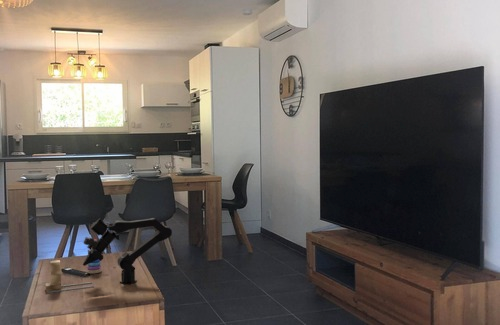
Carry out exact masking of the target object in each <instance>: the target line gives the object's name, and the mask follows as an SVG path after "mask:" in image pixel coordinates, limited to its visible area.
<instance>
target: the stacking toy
mask: <svg viewBox="0 0 500 325" xmlns="http://www.w3.org/2000/svg"><path fill="white" fill-rule="evenodd" d="M93 239H94V240H97V238H93ZM88 250H90V249H89V248H88ZM101 262H102V261H100V260H99V259H98V260H96V261H94V262H91V263H89V264H87V265H86V268H87V269H86V272H87V273H88V274H99V273H101V272H102V265H101V264H102V263H101Z"/></svg>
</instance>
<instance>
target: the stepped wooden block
mask: <svg viewBox="0 0 500 325" xmlns="http://www.w3.org/2000/svg"><path fill="white" fill-rule="evenodd" d="M49 264H50V265H49V266H50V267H49V268H50V270H49V271H50V282H46V283H45V293H47V292H48V291H56V290H62V287H61V286H62V271H61V269H62V268H61V266H62V265H61V260H60V259H58V260H50V261H49Z"/></svg>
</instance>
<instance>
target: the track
mask: <svg viewBox="0 0 500 325" xmlns="http://www.w3.org/2000/svg"><path fill="white" fill-rule="evenodd" d="M90 284H93V283H92V281H89V282H83V283H72V284H65V285H61V288H64V289H61V290H56V291H48V292H46V294H51V293H57V292H65V291H67V292H68V291H74V290H81V289H82V290H83V289H89V288H94V285H90ZM83 285H88V286H83ZM75 286H80V287H75ZM66 287H71V288H66ZM73 287H74V288H73ZM65 288H66V289H65Z"/></svg>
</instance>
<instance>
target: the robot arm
mask: <svg viewBox="0 0 500 325" xmlns="http://www.w3.org/2000/svg"><path fill="white" fill-rule="evenodd" d="M148 227H153V228H154V229H155V230H156V231H155V232H154V234H153V235H152V236H151V237H150V238H148V239H147V240H145V241H144V242H142V243H141V244H140V245H138V247H136V248H134V250H132V251H130V252H128V251H124V253H122V254H120V255H119V257H118V259H117V265H118V266H119V268H121V269H122V270H121V276H120V278H121V281H119V283H120V284H125V285H131V284H133V283H137V282H138V280H137V279H136V267H135V266H134V265H133V264H134V263H135V262H136V260H137V259H138V258H140V256H142V255H144V254H145V253H146V252H148V250H150V249H151V248H153V247H154V246H155V245H157V244H159V243H160V242H162V241H165V240H168V238H170V237H171V236H172V234H173V230H172V228H170V227H169V226H167V225H164V224H162V223H161V222H160V221H158V219H156V218H154V217H151V218H144V219H138V220H137V219H136V220H131V221H129V220H114V221H113V222H112V223H107V224H106V223H105V222H103V220H102V219H101V218H98V219H97V220H96V221H94V222H93V223H92V224H91V226H90V227H89V229H90V230H91V231H92V232H94V233H95V234H96V235H97V236H101V237H100V238H96V240H94V239H95V238H92V237H88V236H85V237H84V240H83V245H86V248H87V255H86V257H85V259H84V261H83V263H82V265H83V267H85V266H88V264H89V263H91V262H94V261H96V260H98V259H99V260H100V262H102V261H103V260H104V254H103V253H104V252H105V250H106V249H108V248H109V246H110V244H112V242H114V240H115V239H116V240H117V241H119V240H120V234H121V233H125V232H127V231H130V230H134V229H141V228H148ZM89 249H90V250H89Z"/></svg>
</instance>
